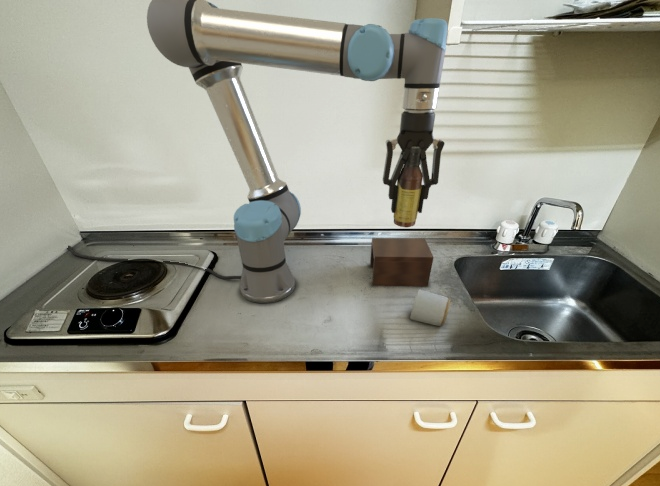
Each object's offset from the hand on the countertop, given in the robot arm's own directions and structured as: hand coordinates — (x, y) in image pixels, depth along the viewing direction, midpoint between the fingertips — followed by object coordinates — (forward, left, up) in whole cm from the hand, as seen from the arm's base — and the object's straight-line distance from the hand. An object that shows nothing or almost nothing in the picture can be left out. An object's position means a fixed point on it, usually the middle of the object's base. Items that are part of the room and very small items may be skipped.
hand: (406, 210), depth 84 cm
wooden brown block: (0, 0, -20) cm, 20 cm away
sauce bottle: (0, 0, -4) cm, 4 cm away
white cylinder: (+5, -20, -20) cm, 29 cm away
